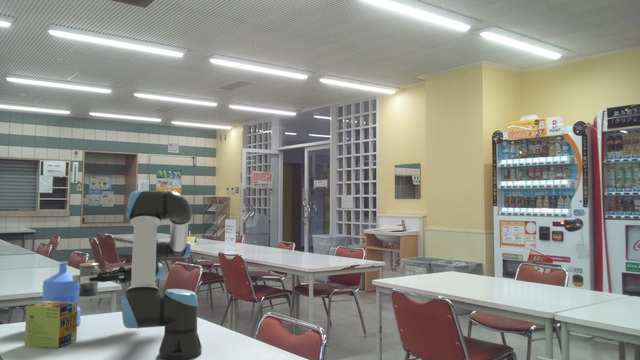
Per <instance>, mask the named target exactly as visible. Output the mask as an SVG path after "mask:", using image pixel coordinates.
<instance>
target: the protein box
mask: <svg viewBox="0 0 640 360" xmlns="http://www.w3.org/2000/svg"><path fill="white" fill-rule="evenodd" d="M77 306H79V302H78V303H77V302H56V301H44V302H43V301H41V302H37V303H32V304H28V305H26V306H25V326H24V327H25V329H24V330H25V331H24V346H27V347H36V348H37V347H39V348H40V347H41V348H53V349H59V348H63V347H65V346H67V345H69V344H72V343H75V342H77V340H78V339H77V336H78V335H77V334H78V329H77V328H78V326H77Z"/></svg>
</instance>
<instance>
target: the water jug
mask: <svg viewBox="0 0 640 360" xmlns="http://www.w3.org/2000/svg"><path fill="white" fill-rule="evenodd" d="M58 265H59V268H58V273H56V274H54V275H52V276H50V277H48V278H45V279H44V280H43V281H42V283H43V284H42V302H44V301H56V302H77V303H78V304H79V284H80V281H77V282H72V275H73V274H71V273H69V272H68V271H67V270H68V269H67V268H68V263H67V262H61V263H58ZM81 309H82V308H80V306H79V305H78V306H77V327H78V326H80V324H81V321H82V320H81Z"/></svg>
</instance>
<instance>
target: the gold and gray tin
mask: <svg viewBox="0 0 640 360" xmlns="http://www.w3.org/2000/svg"><path fill="white" fill-rule="evenodd" d="M99 264H100V263H98V262H86V263H85V262H84V263H80V264H79V275H80V277H84V276H94V275H97V277H98V272H99V266H100V265H99ZM98 289H99V282H98V281H97V282H92V283H83V284H79V295H78V297H83V298H84V297H85V298H86V297H95V296H98V291H99V290H98Z"/></svg>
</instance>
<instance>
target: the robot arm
mask: <svg viewBox="0 0 640 360" xmlns="http://www.w3.org/2000/svg"><path fill="white" fill-rule="evenodd" d="M127 201H128V202H127V205H126V219H127V220H129V222H130V223H129V224H130V225H131V226H132V227H133V238H132V239H133V240H132V253H131V254H132V256H131V258H132V259H131V265H122V266H120V267H119V268H118V270H108V271H98V277H97V275H94V276H84V277H80V274H72V282H77V281H80V284H83V283H92V282H97V281H98V283H105V282H113V281H115V282H116V281H118V282H119V283H120V284H128V283H130V286H129V287H128V288H127V289H125V290H126V291H125V294H123V295H121V297H120V299H121V301H120V306H121V314H122V315H121V316H122V323H123V326H124V327H125V328H127V329H144V328H158V327H164V331H163V332H164V334H163V337H162V339H161V342H160V347H159V349H158V357H159V358H161V359H164V360H188V359H192V358H196V357H199V356H200V355H201V354H202V351H203V349H202V348H203V347H202V344H201V340H200V336H199V333H198V307H199V302H198V295H197V293H195V292H194V291H192V290H189V289H182V288H168V289H166V290H165V291H164V293H160V288H159V287H158V286H157V285H156V280H159V279H161V278H163V275H164V271H165V270H164V266H163V264H162V263H159V259H183V258H189V257H190V256H191V250H192V249H191V247H192V246H191V242H190V241H188V237H189V236H188V234H189V233H188V232H189V222H190V221H191V219H192V215H193V211H192V206H191V204H190V202H189V201H188V200H187V199H186V197H184V196H183V195H181V194H180V193H178V192H176V191H174V190H173V191H172V190H143V189H142V190H134V191H132V192H131V193H130V195H129V197H128V200H127ZM162 220H165V221H166V220H169V222H170V223H169V225H170V227H169V229H170V230H169V231H170V232H169V241H159V238H158V237H157V236H158V227H159V226H160V225H161V224H162Z"/></svg>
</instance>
